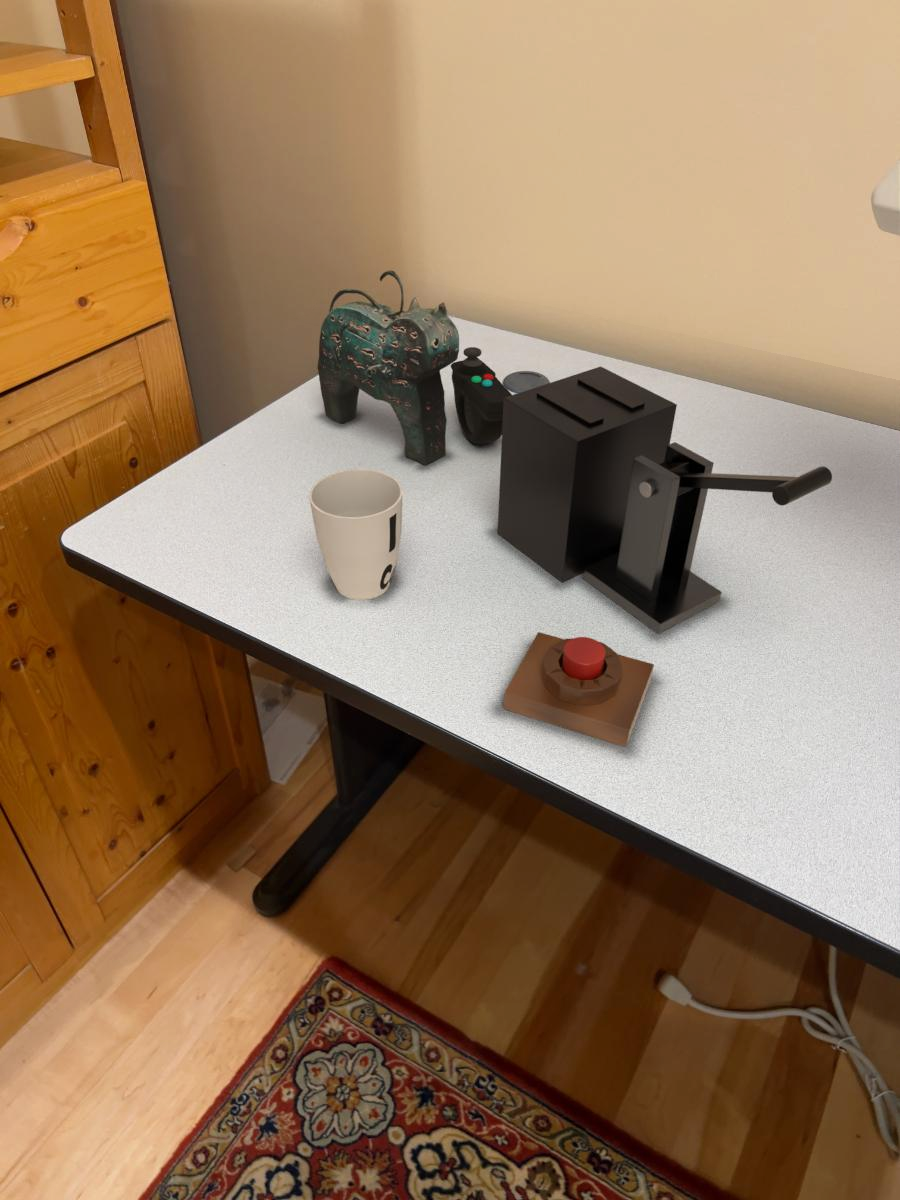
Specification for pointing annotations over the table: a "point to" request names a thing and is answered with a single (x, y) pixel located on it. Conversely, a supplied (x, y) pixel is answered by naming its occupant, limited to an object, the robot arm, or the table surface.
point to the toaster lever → (752, 482)
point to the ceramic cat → (389, 366)
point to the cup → (358, 529)
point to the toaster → (575, 465)
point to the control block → (579, 692)
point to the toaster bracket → (658, 546)
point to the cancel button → (583, 658)
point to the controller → (478, 398)
